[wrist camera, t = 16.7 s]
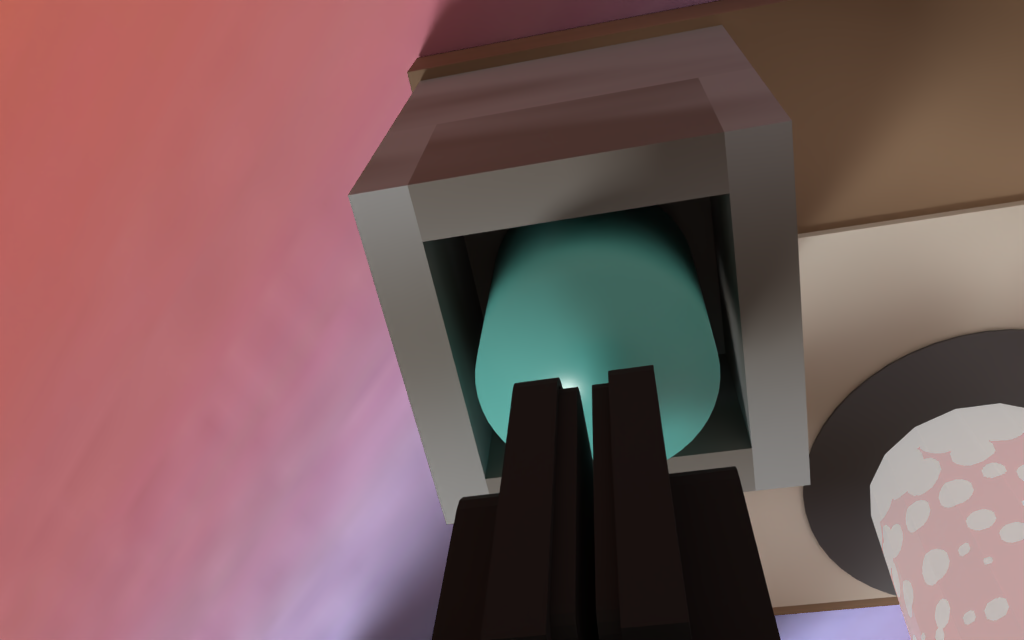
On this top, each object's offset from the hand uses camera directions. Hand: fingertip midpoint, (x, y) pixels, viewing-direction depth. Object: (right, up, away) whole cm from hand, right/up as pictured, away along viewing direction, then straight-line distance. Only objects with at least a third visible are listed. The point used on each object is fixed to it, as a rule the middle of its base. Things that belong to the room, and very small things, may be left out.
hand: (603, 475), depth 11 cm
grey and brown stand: (+6, +2, +9) cm, 11 cm away
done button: (0, +2, +4) cm, 4 cm away
